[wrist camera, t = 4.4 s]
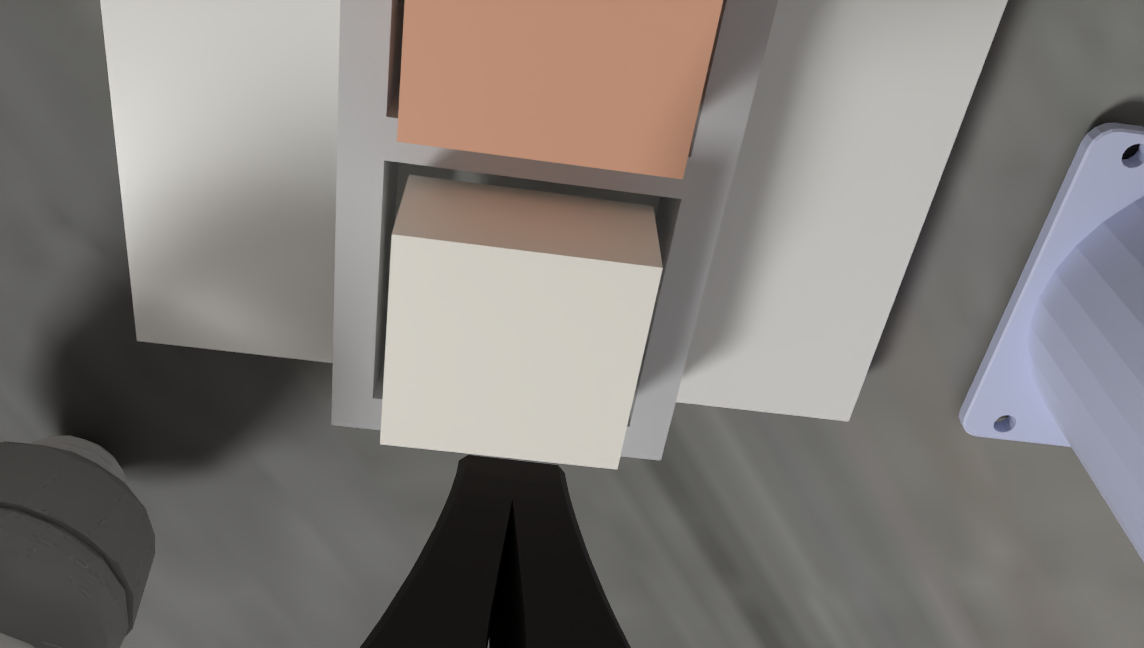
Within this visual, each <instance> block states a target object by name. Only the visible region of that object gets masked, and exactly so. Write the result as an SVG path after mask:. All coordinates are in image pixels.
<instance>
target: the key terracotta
mask: <svg viewBox="0 0 1144 648" xmlns="http://www.w3.org/2000/svg"><path fill="white" fill-rule="evenodd" d="M722 4H723V0H405V3H404V21H403V39H402V57H401V75H400V93H399V111H398V129H397V142H402V143H410V144H418V145H425V146H433V147H440V148H448V149H456V150H463V151H471V152H478V153H486V154H493V155H501V156H509V157H516V158H524V159H531V160H539V161H547V162H554V163H562V164H569V165H577V166H585V167H592V168H600V169H607V170H615V171H622V172H630V173H638V174H645V175H653V176H660V177H668V178H676V179H683V177H684V172H685V168H686V163H687V159H688V154H689V150H690V146H691V141H692V137H693V132H694V128H695V123H696V119H697V115H698V110H699V106H700V101H701V97H702V92H703V88H704V84H705V79H706V75H707V70H708V66H709V61H710V57H711V53H712V48H713V44H714V39H715V35H716V31H717V26H718V22H719V17H720V13H721V8H722Z"/></svg>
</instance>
